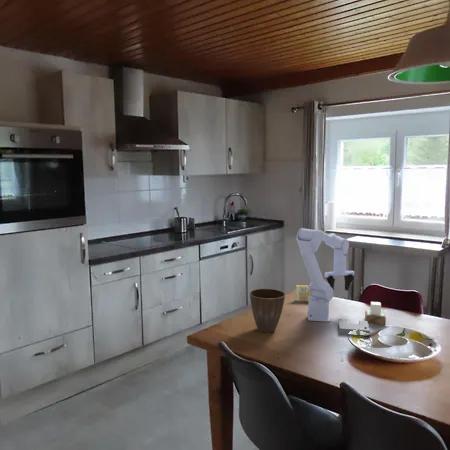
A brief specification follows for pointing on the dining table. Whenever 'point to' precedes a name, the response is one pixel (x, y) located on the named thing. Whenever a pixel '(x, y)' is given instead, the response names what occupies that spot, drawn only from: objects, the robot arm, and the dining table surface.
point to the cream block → (375, 308)
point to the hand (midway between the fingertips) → (339, 290)
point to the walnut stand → (375, 318)
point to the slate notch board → (352, 326)
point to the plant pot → (267, 308)
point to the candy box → (302, 293)
